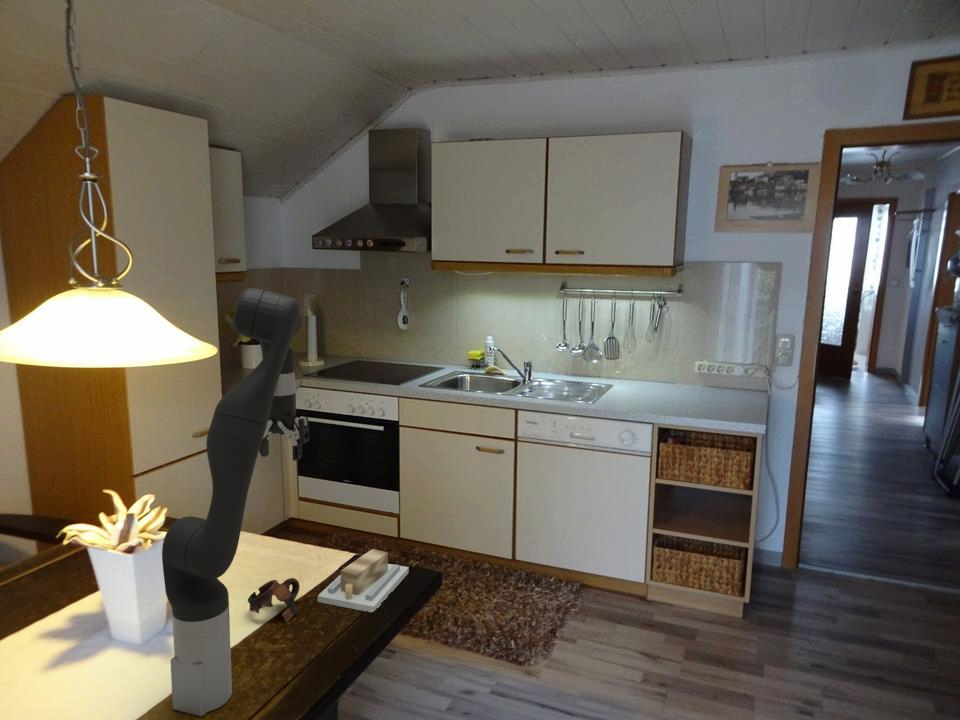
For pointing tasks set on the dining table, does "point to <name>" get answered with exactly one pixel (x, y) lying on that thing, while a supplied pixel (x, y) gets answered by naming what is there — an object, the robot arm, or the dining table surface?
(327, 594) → the key cradle
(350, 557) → the dining table surface
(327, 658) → the dining table surface
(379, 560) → the beige wooden block
